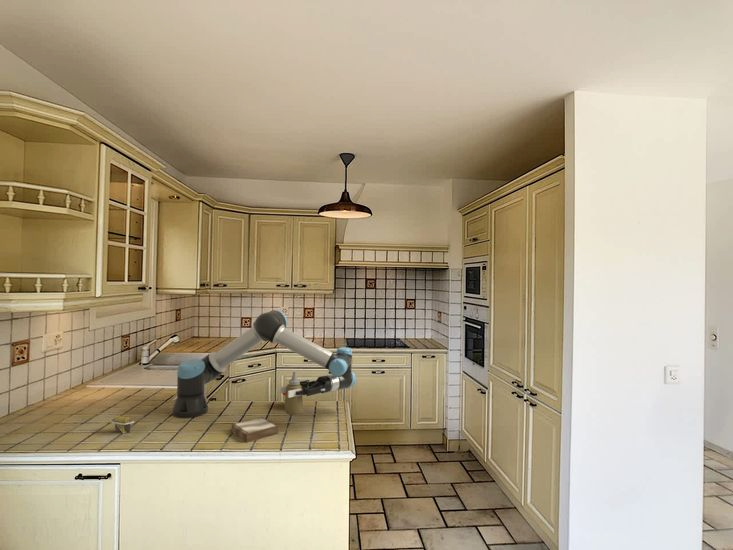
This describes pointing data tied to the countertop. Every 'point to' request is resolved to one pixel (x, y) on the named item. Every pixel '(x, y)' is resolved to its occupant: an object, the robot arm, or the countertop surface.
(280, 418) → the countertop surface
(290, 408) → the squeeze bottle
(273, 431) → the picture frame
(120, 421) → the platform
